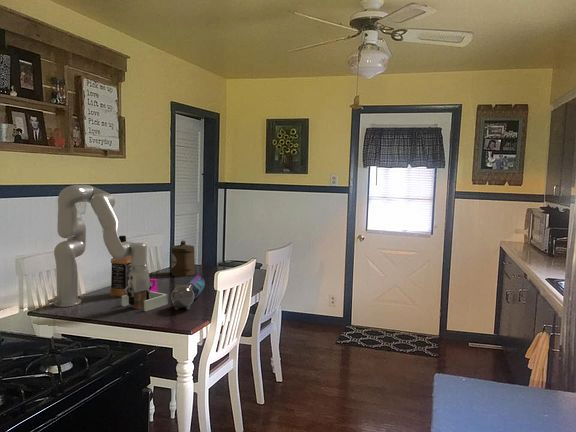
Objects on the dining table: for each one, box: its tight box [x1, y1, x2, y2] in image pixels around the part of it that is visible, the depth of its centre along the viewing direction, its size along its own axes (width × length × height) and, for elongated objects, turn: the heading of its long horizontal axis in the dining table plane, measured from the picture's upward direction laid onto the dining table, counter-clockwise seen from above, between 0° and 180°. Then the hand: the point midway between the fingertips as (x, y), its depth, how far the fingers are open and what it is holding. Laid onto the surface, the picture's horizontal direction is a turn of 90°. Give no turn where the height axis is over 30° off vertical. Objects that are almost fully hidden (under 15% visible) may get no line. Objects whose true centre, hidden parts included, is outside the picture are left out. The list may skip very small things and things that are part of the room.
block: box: [130, 291, 146, 310], centre depth 239 cm, size 5×5×8 cm
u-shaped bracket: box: [121, 291, 169, 312], centre depth 242 cm, size 15×16×5 cm
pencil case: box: [185, 274, 206, 300], centre depth 262 cm, size 21×9×10 cm, turn 0°
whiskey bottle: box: [109, 235, 131, 298], centre depth 260 cm, size 10×10×32 cm
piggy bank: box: [170, 283, 195, 311], centre depth 239 cm, size 11×15×12 cm
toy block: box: [149, 278, 159, 293], centre depth 259 cm, size 15×6×8 cm, turn 171°
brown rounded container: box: [170, 240, 196, 277], centre depth 315 cm, size 15×15×22 cm
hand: (138, 302), depth 239 cm, fingers open, 9 cm apart
